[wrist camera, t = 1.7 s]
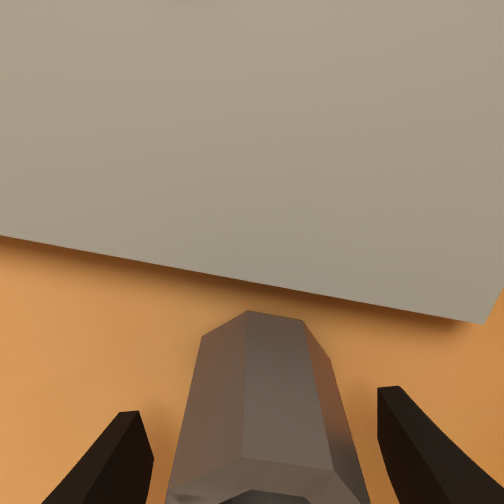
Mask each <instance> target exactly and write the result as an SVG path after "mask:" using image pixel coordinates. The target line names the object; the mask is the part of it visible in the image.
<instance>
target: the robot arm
mask: <svg viewBox="0 0 504 504" xmlns="http://www.w3.org/2000/svg"><path fill="white" fill-rule="evenodd" d="M377 439H378V442H379V446H380V449H381V453H382V456H383V460H384V463H385V466H386V469H387V473H388V476H389V478H390V481H391V483H392V486H393V488H394V491H395V493H396V496H397V498H398V501H399V503H400V504H504V488H503V487H502V486H501V485H500V484H498V483H497V482H496V481H495V480H494V479H493V478H491V477H490V476H489V475H488V474H487V473H486V472H485V471H484V470H482V469H481V468H480V467H479V466H478V465H477V464H476V463H475V462H474V461H472V460H471V459H470V458H469V457H468V456H467V455H466V454H465V453H464V452H463V451H462V450H461V449H460V448H459V447H458V446H457V445H456V444H455V443H454V442H453V441H452V440H451V439H449V438H448V437H447V436H446V435H445V434H444V433H443V432H442V431H441V430H440V429H439V428H438V427H437V426H436V425H435V424H434V423H433V421H432V420H431V419H430V418H429V417H428V416H427V415H426V414H425V413H424V412H423V411H422V410H421V409H420V408H419V407H418V406H417V405H416V403H415V402H414V401H413V400H412V399H411V398H410V397H409V396H408V395H407V393H406V392H405V391H404V390H403V389H402V388H401V387H400V386H390V387H380V388H377ZM153 462H154V456H153V453H152V450H151V447H150V444H149V441H148V438H147V435H146V432H145V428H144V425H143V422H142V419H141V416H140V413H139V410H138V411H128V412H119V413H118V415H117V416H116V417H115V418H114V419H113V420H112V422H111V423H110V424H109V425H108V426H107V428H106V429H105V430H104V431H103V433H102V434H101V435H100V436H99V437H98V439H97V440H96V441H95V442H94V443H93V445H92V446H91V447H90V448H89V450H88V451H87V452H86V453H85V454H84V456H83V457H82V458H81V459H80V460H79V461H78V463H77V464H76V465H75V466H74V467H73V469H72V470H71V471H70V472H69V473H68V474H67V476H66V477H65V478H64V479H63V480H62V481H61V483H60V484H59V485H58V486H57V487H56V488H55V489H54V490H53V491H52V492H51V494H50V495H49V496H48V497H47V498H46V499H45V500H44V501H43V502H42V503H41V504H145V503H146V500H147V496H148V491H149V485H150V480H151V474H152V468H153Z"/></svg>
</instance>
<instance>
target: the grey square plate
mask: <svg viewBox="0 0 504 504" xmlns="http://www.w3.org/2000/svg"><path fill="white" fill-rule="evenodd" d="M0 235H2V236H7V237H12V238H18V239H23V240H29V241H34V242H39V243H45V244H50V245H56V246H61V247H66V248H72V249H77V250H83V251H88V252H93V253H99V254H104V255H110V256H115V257H120V258H126V259H131V260H137V261H142V262H147V263H153V264H158V265H164V266H169V267H174V268H180V269H185V270H191V271H196V272H201V273H207V274H212V275H218V276H223V277H228V278H234V279H239V280H245V281H250V282H255V283H261V284H266V285H271V286H277V287H282V288H288V289H293V290H298V291H304V292H309V293H315V294H320V295H325V296H331V297H336V298H342V299H347V300H352V301H358V302H363V303H369V304H374V305H379V306H385V307H390V308H396V309H401V310H406V311H412V312H417V313H423V314H428V315H433V316H439V317H444V318H450V319H455V320H460V321H466V322H471V323H477V324H482V325H484V323H485V321H486V319H487V317H488V316H489V314H490V312H491V310H492V308H493V306H494V304H495V302H496V300H497V298H498V296H499V295H500V293H501V291H502V289H503V287H504V0H0Z"/></svg>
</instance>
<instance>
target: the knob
mask: <svg viewBox="0 0 504 504" xmlns="http://www.w3.org/2000/svg"><path fill="white" fill-rule="evenodd" d="M165 504H371V503H370V499H369V496H368V492H367V489H366V485H365V482H364V478H363V474H362V471H361V467H360V464H359V460H358V457H357V453H356V450H355V446H354V443H353V439H352V436H351V432H350V429H349V425H348V421H347V418H346V414H345V411H344V407H343V404H342V400H341V397H340V393H339V390H338V386H337V383H336V379H335V375H334V372H333V368H332V365H331V361H330V358H329V357H328V356H327V354H326V353H325V351H324V350H323V349H322V347H321V346H320V344H319V343H318V342H317V340H316V339H315V337H314V336H313V335H312V333H311V332H310V330H309V329H308V328H307V326H306V325H305V323H304V322H303V321H302V320H297V319H291V318H285V317H280V316H274V315H269V314H263V313H258V312H252V311H246V312H244V313H243V314H241V315H239V316H237V317H235V318H234V319H232V320H230V321H228V322H227V323H225V324H223V325H221V326H220V327H218V328H216V329H214V330H213V331H211V332H209V333H207V334H206V335H204V336H202V338H201V343H200V347H199V352H198V356H197V361H196V365H195V369H194V374H193V378H192V383H191V387H190V391H189V396H188V400H187V405H186V409H185V414H184V418H183V422H182V427H181V431H180V436H179V440H178V445H177V449H176V453H175V458H174V462H173V467H172V471H171V475H170V480H169V484H168V489H167V494H166V500H165Z"/></svg>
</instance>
